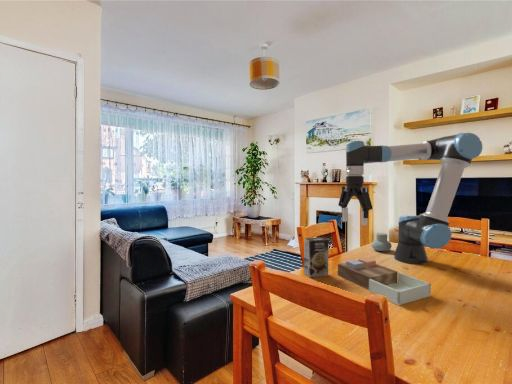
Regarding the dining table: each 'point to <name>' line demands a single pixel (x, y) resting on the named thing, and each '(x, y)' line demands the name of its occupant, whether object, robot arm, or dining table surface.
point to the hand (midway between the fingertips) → (354, 223)
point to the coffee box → (316, 256)
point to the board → (368, 275)
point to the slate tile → (355, 264)
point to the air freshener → (381, 243)
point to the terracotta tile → (367, 262)
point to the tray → (402, 289)
